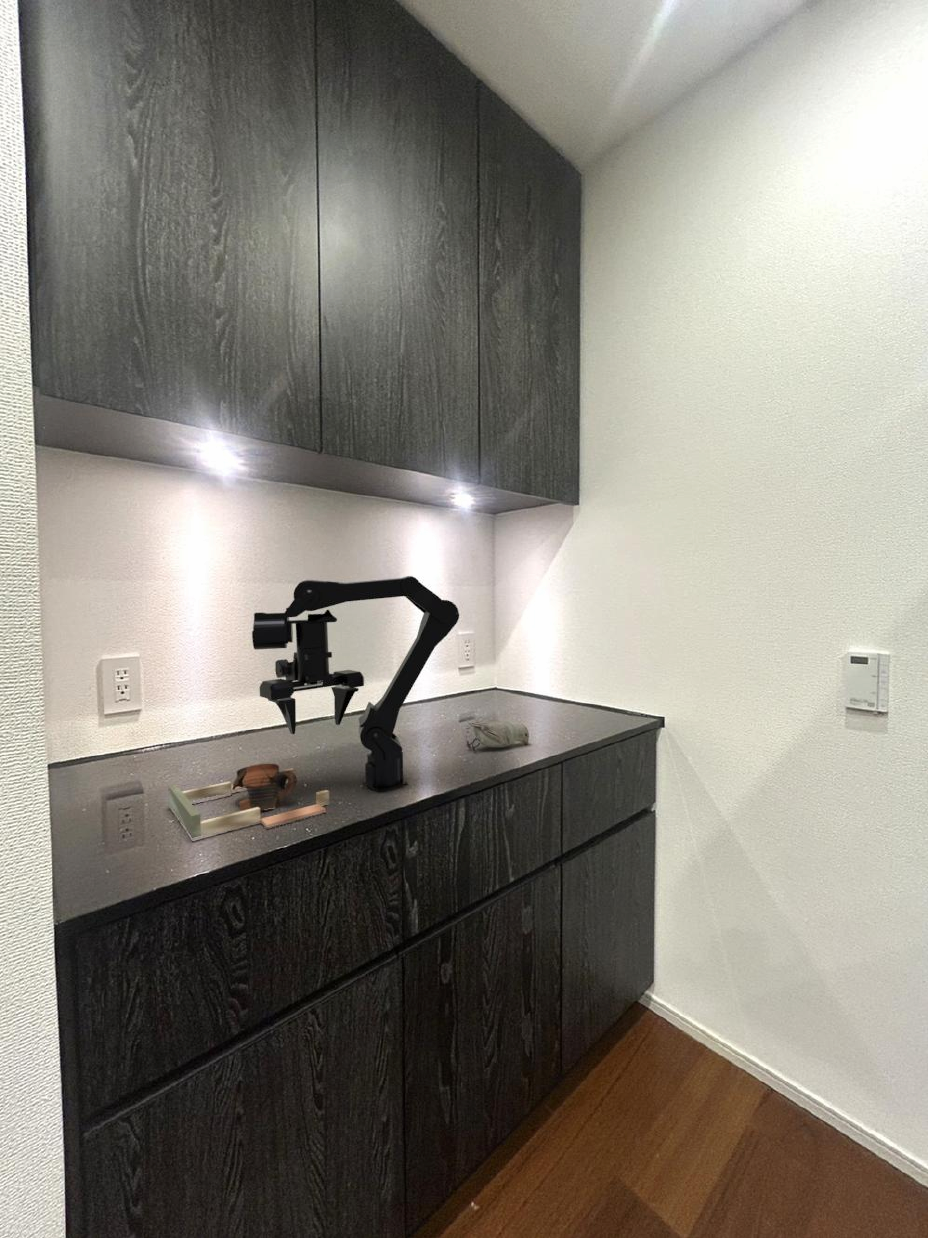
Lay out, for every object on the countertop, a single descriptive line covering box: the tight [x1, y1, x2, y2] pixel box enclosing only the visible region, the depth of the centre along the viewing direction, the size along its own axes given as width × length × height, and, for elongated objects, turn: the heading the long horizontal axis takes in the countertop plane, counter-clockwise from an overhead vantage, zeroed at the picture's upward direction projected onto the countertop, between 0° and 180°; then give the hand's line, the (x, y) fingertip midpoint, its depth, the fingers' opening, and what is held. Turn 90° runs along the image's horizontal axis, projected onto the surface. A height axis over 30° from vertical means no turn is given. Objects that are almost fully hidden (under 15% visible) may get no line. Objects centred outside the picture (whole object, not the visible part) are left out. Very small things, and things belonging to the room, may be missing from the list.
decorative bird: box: [465, 721, 530, 755], centre depth 131 cm, size 5×16×7 cm, turn 113°
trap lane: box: [168, 767, 330, 838], centre depth 96 cm, size 22×23×4 cm
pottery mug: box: [232, 763, 298, 811], centre depth 98 cm, size 12×9×8 cm
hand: (315, 729), depth 103 cm, fingers open, 9 cm apart
